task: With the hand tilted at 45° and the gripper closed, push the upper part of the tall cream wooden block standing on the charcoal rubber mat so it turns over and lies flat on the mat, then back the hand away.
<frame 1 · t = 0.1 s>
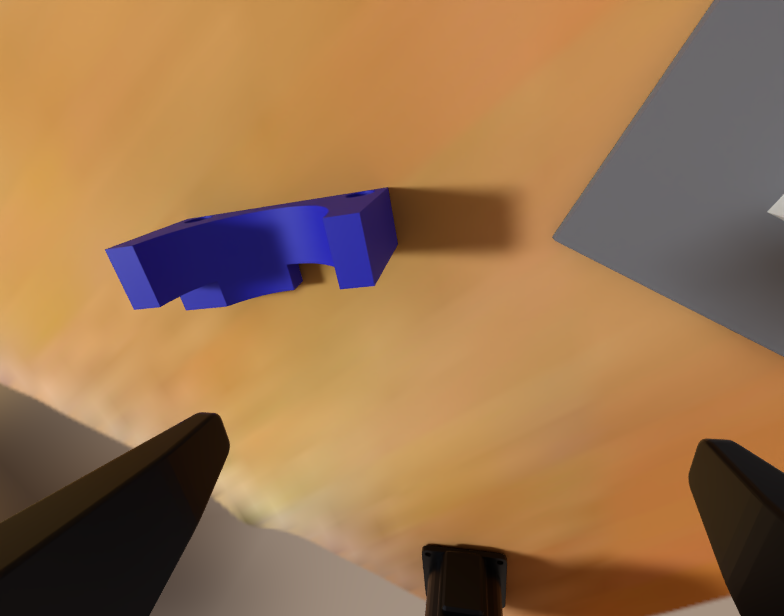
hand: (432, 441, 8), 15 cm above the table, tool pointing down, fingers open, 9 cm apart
cable clip: (295, 242, 23), on the table
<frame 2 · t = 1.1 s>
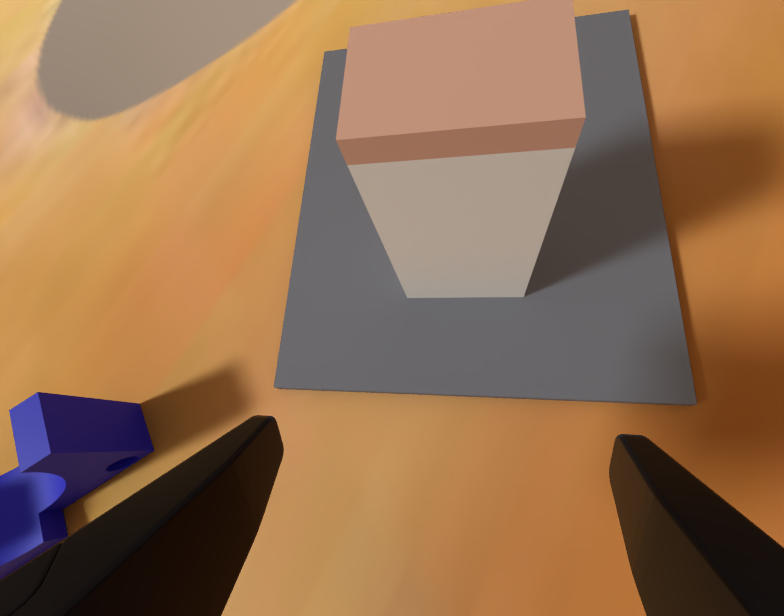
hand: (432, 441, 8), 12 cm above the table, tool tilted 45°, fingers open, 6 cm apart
cable clip: (66, 495, 23), on the table
rubber mat: (464, 190, 24), on the table
cream block: (463, 262, 21), point 1 cm above the table, touching rubber mat
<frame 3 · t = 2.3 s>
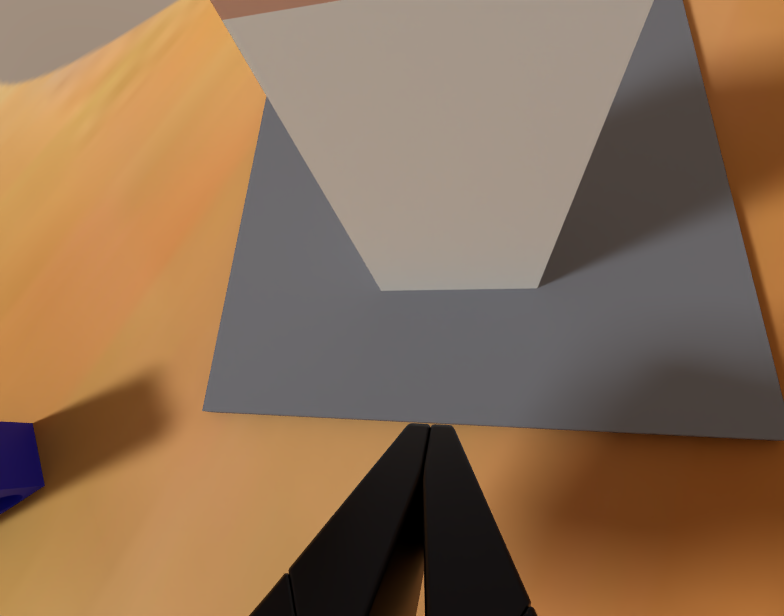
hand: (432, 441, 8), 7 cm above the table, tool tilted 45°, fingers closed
rubber mat: (457, 153, 18), on the table
cream block: (456, 243, 16), point 1 cm above the table, touching rubber mat
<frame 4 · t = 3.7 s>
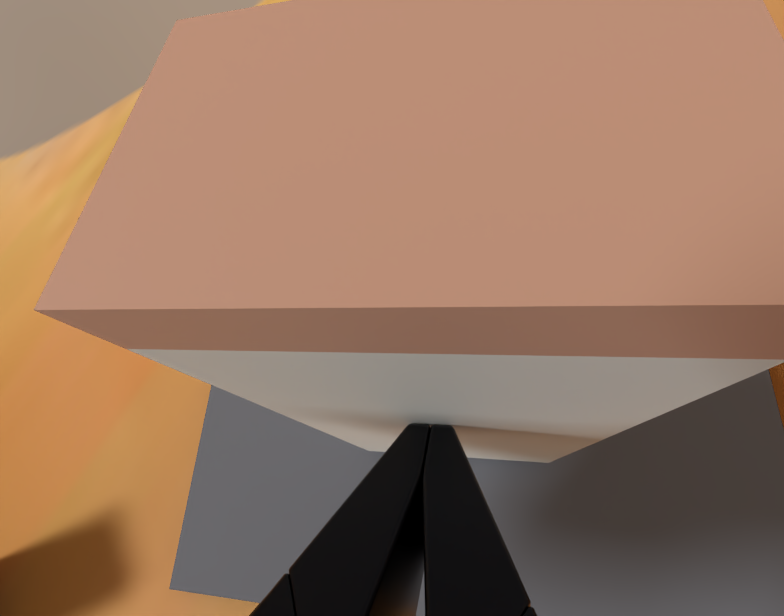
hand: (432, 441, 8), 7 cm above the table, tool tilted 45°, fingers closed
rubber mat: (457, 279, 17), on the table
cream block: (455, 397, 14), point 1 cm above the table, tilted 5°, touching rubber mat
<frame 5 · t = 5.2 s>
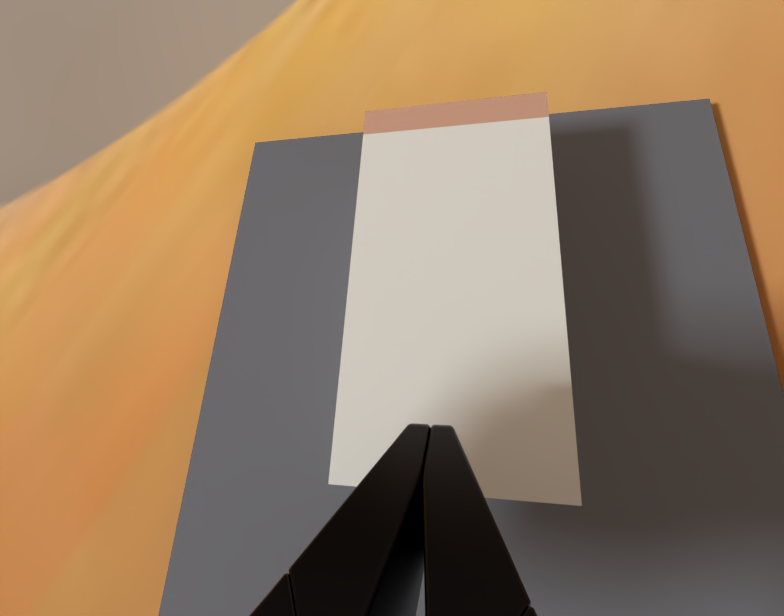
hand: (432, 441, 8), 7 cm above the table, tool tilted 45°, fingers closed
rubber mat: (456, 394, 15), on the table
cream block: (451, 486, 11), point 3 cm above the table, tilted 90°, touching rubber mat
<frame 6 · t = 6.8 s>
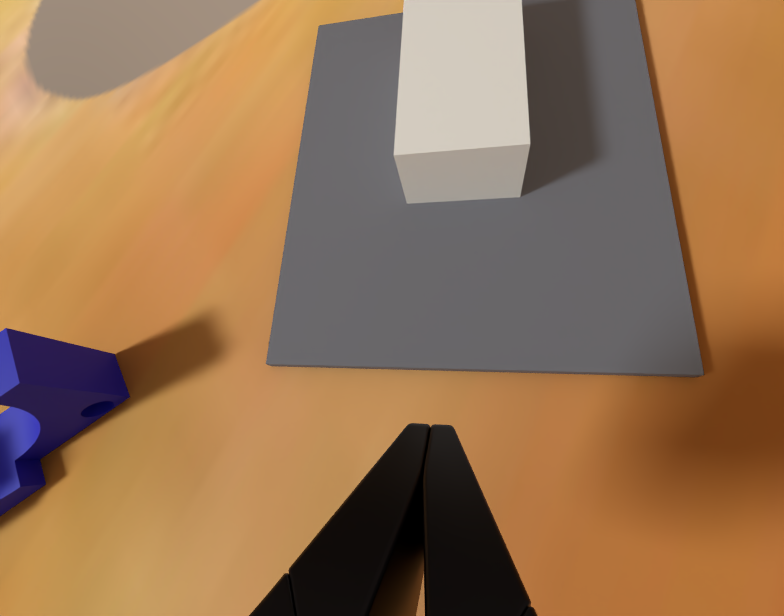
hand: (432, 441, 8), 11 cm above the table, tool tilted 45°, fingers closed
cable clip: (43, 447, 23), on the table
rubber mat: (462, 162, 23), on the table
cream block: (460, 177, 20), point 3 cm above the table, tilted 90°, touching rubber mat
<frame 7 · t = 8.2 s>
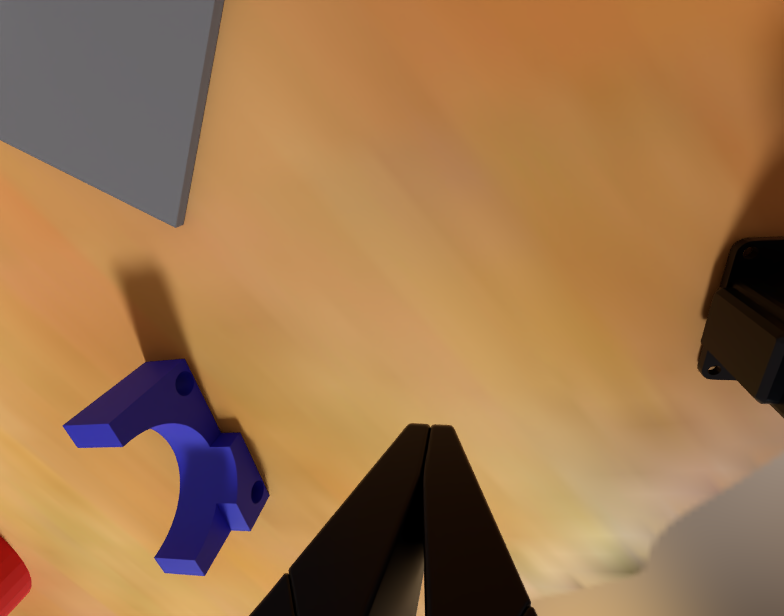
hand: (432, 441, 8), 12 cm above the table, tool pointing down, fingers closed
cable clip: (215, 429, 27), on the table
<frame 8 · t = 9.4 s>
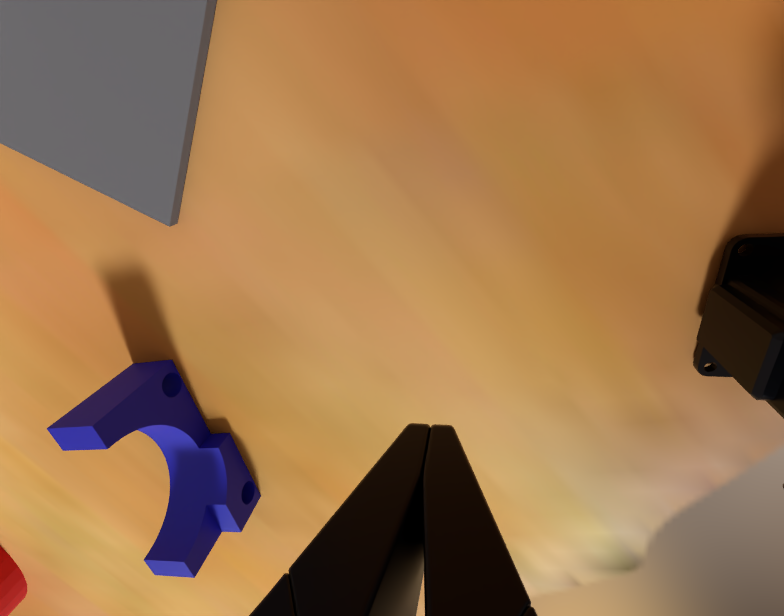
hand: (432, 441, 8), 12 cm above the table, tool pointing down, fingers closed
cable clip: (204, 430, 27), on the table
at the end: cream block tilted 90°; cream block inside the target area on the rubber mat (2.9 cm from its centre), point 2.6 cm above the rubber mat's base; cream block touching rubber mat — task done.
